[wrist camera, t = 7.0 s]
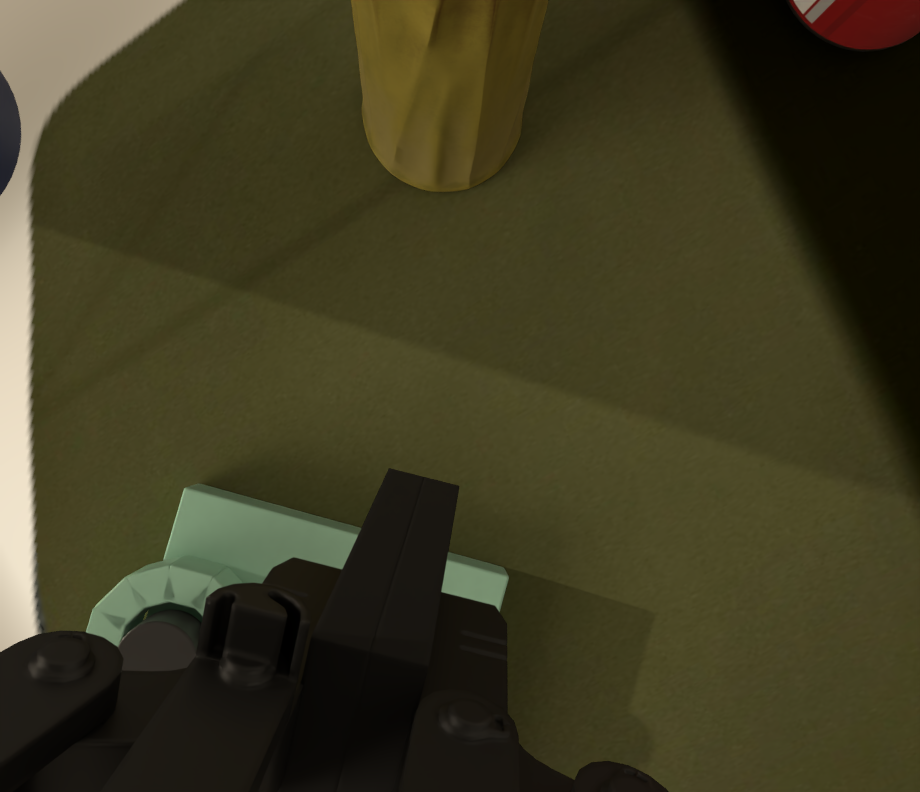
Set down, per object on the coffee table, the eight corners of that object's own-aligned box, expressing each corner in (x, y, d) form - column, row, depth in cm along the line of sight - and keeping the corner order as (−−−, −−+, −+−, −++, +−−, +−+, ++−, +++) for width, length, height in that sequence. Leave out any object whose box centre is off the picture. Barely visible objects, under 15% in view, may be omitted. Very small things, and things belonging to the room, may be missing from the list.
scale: (89, 734, 29) (41, 779, 25) (165, 473, 29) (129, 481, 25) (433, 824, 29) (434, 880, 26) (505, 566, 29) (515, 587, 26)
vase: (409, 222, 29) (394, 42, 15) (334, 80, 29) (247, -233, 15) (549, 149, 30) (662, -93, 15) (474, 9, 30) (519, -363, 15)
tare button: (122, 676, 26) (103, 692, 24) (145, 600, 26) (126, 611, 24) (198, 695, 26) (184, 714, 24) (220, 620, 26) (207, 633, 24)
